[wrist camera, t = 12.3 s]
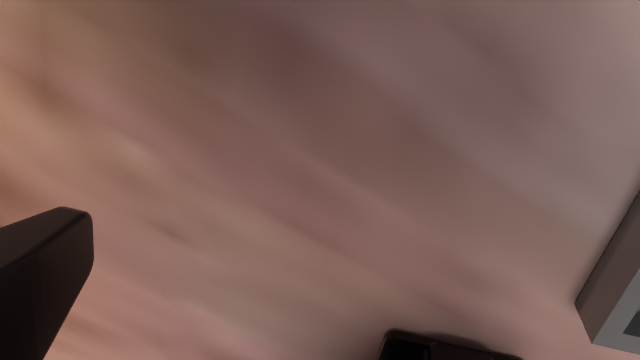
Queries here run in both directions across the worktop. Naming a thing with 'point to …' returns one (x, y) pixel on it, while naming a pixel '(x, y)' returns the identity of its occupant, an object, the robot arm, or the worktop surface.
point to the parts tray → (615, 290)
